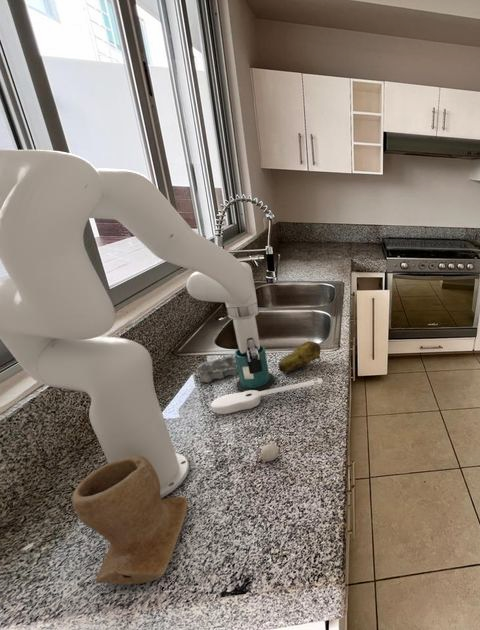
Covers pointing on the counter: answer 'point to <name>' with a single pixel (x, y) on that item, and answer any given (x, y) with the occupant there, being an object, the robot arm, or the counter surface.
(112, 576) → the stone cup
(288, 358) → the olive green oblong piece
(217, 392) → the counter surface
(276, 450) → the paper ball
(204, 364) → the egg carton
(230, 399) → the white handheld wand
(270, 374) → the bin stand
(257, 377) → the bin
